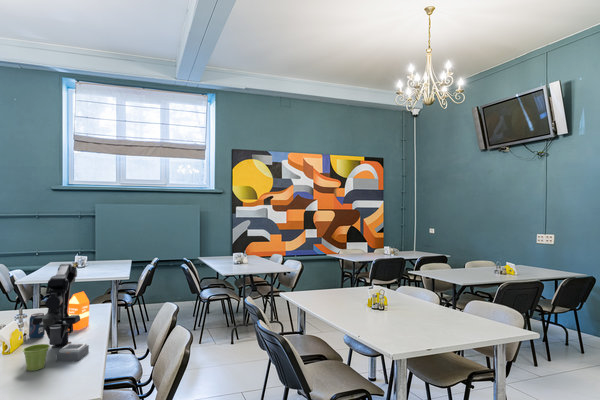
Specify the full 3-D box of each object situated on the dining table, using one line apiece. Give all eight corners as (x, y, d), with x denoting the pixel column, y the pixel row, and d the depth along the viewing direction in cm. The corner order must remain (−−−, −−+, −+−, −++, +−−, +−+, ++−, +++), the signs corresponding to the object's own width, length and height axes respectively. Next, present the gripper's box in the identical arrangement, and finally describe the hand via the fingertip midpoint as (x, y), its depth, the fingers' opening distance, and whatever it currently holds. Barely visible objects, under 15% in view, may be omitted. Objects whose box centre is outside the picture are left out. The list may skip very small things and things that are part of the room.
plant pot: (19, 374, 158) (20, 352, 158) (25, 366, 166) (25, 345, 166) (46, 370, 161) (47, 349, 162) (50, 362, 170) (51, 342, 170)
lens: (52, 341, 181) (53, 324, 182) (64, 341, 182) (64, 324, 182) (46, 345, 176) (47, 327, 176) (58, 344, 177) (59, 327, 177)
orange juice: (88, 325, 227) (90, 291, 227) (78, 330, 218) (80, 294, 219) (76, 325, 227) (77, 290, 228) (65, 329, 219) (67, 293, 219)
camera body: (68, 353, 182) (68, 342, 182) (88, 352, 183) (88, 342, 183) (56, 361, 171) (56, 351, 171) (77, 361, 172) (78, 350, 172)
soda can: (25, 338, 203) (26, 315, 203) (39, 334, 209) (40, 312, 209) (33, 340, 200) (34, 316, 200) (47, 336, 206) (48, 313, 206)
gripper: (25, 308, 171) (23, 344, 170) (70, 308, 173) (68, 343, 172) (39, 303, 182) (38, 336, 181) (81, 302, 184) (80, 336, 183)
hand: (55, 338), depth 179 cm, fingers closed on lens, 5 cm apart
